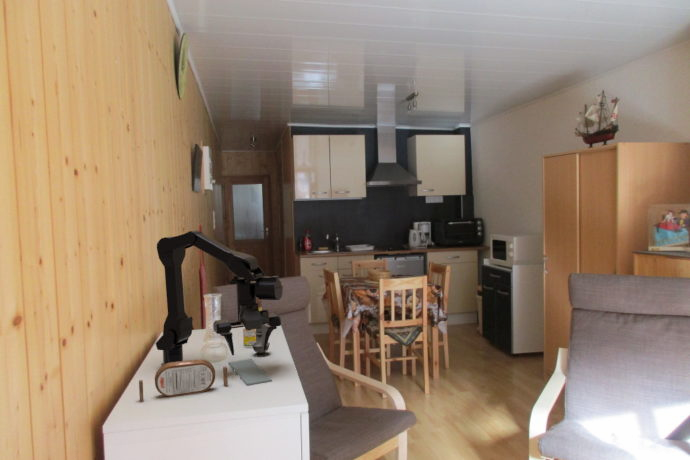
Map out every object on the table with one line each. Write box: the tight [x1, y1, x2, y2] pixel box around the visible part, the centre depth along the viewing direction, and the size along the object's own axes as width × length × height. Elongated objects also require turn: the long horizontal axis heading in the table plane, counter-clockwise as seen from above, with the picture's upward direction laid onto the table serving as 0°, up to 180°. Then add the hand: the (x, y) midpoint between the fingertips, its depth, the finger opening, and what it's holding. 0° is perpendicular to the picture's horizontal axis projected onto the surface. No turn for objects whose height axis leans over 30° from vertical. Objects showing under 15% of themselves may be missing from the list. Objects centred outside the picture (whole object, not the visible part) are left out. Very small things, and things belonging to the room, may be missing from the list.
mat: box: [228, 358, 273, 387], centre depth 143 cm, size 22×7×1 cm, turn 26°
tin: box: [154, 358, 216, 398], centre depth 127 cm, size 15×3×8 cm, turn 109°
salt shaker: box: [252, 324, 271, 358], centre depth 160 cm, size 6×6×12 cm
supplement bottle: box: [242, 327, 256, 349], centre depth 171 cm, size 5×5×10 cm
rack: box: [138, 366, 229, 403], centre depth 127 cm, size 2×22×5 cm, turn 116°
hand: (248, 352), depth 143 cm, fingers open, 9 cm apart
